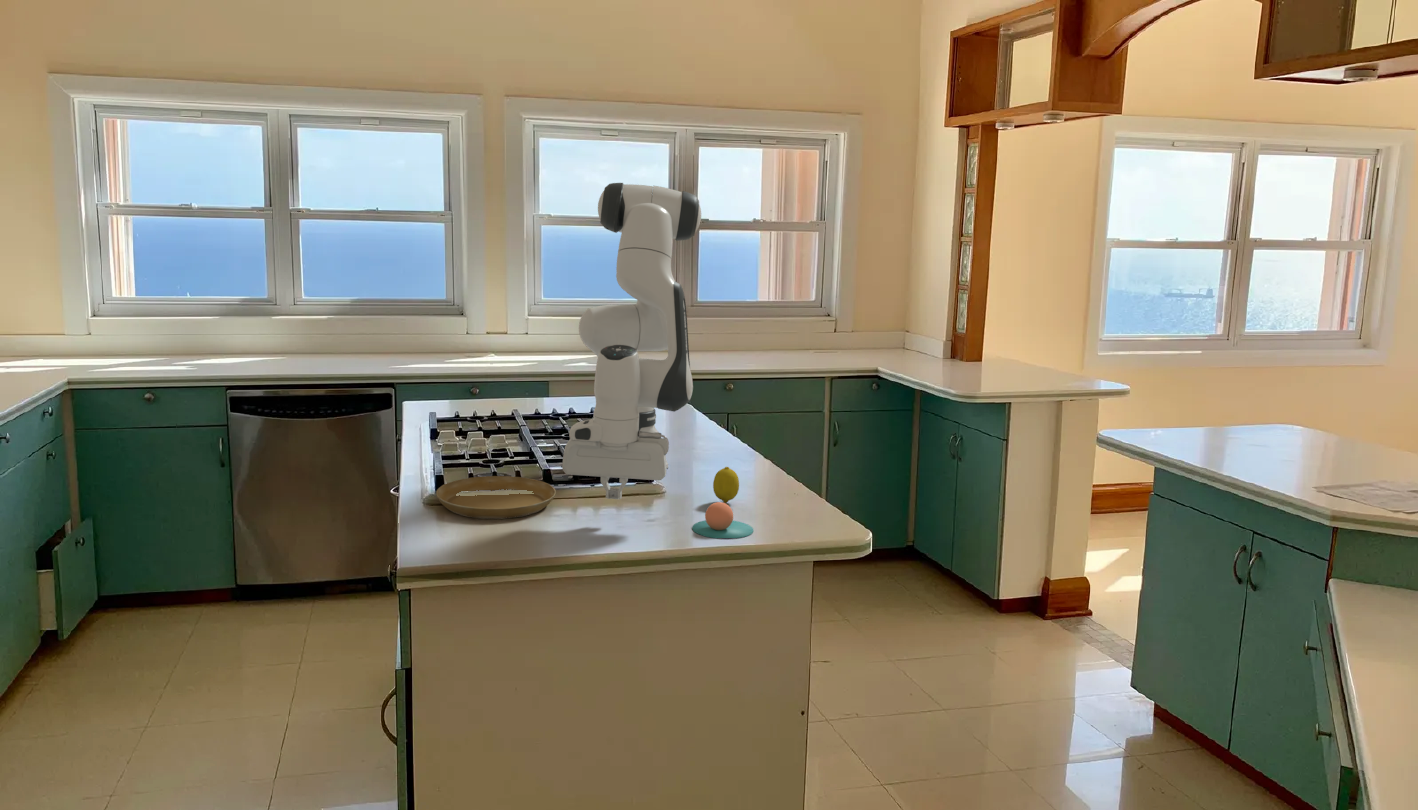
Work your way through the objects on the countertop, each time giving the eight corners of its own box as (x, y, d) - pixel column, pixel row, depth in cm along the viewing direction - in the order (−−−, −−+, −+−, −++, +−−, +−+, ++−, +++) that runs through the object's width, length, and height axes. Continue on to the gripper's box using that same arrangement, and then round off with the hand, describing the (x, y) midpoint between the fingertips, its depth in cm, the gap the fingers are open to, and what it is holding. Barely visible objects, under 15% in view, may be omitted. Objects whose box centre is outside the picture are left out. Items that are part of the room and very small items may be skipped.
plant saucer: (556, 523, 202) (556, 506, 201) (430, 524, 198) (430, 507, 197) (554, 490, 225) (554, 475, 225) (441, 490, 221) (441, 475, 221)
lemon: (735, 507, 217) (737, 470, 215) (710, 505, 218) (711, 468, 216) (740, 500, 222) (742, 465, 220) (715, 498, 223) (716, 462, 222)
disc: (694, 518, 207) (694, 518, 207) (753, 522, 207) (753, 521, 207) (690, 537, 195) (690, 536, 195) (753, 540, 195) (753, 539, 195)
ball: (711, 494, 202) (738, 503, 202) (702, 519, 204) (728, 528, 204) (709, 503, 197) (736, 513, 197) (700, 528, 198) (726, 538, 198)
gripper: (670, 429, 201) (667, 496, 204) (567, 423, 202) (566, 490, 205) (667, 437, 195) (664, 506, 198) (561, 430, 196) (559, 499, 199)
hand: (613, 498), depth 202 cm, fingers closed
